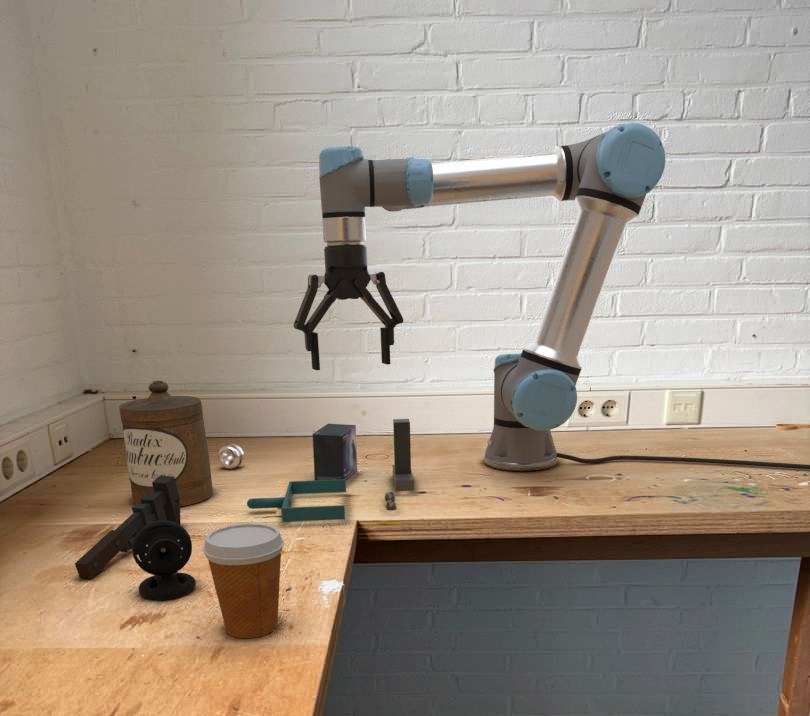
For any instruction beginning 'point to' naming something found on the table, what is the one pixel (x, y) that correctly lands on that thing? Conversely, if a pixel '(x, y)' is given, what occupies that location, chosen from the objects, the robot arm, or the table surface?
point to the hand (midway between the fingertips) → (351, 366)
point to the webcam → (163, 559)
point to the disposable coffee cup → (246, 576)
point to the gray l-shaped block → (402, 456)
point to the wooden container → (166, 444)
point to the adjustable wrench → (133, 526)
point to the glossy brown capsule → (390, 505)
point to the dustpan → (305, 512)
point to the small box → (335, 452)
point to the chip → (389, 496)
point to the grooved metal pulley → (226, 456)
